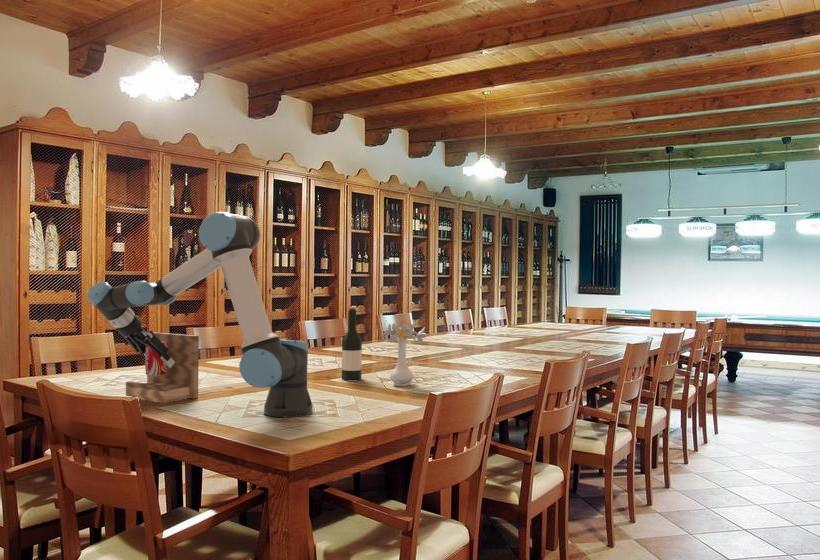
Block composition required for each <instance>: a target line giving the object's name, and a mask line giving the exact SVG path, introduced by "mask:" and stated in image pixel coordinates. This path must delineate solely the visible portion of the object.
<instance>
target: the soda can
mask: <svg viewBox="0 0 820 560" xmlns="http://www.w3.org/2000/svg"><path fill="white" fill-rule="evenodd" d="M161 342H162V343H163V344H164V345H165V346H166V347H167V345H166V344H165V341H161ZM166 353H167V352H166ZM158 356H159V354H157V353H156V352H155V351H154V350H152V349H151V348H150V347H148V346H147V345H146V356H144V357H145V363H144V365H145V367H144V368H145V369H144V370H145V371H144V372H145V376H147V375H148V376H149V377H161V376H164V375H165V374H166V372H167V365H166V364H165V363H164V362H163V361H162V360H161V359H160V358H159V357H158Z"/></svg>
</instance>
